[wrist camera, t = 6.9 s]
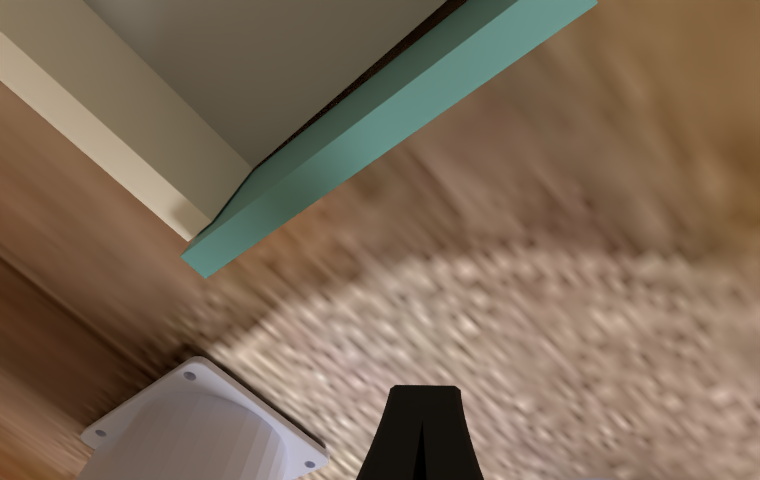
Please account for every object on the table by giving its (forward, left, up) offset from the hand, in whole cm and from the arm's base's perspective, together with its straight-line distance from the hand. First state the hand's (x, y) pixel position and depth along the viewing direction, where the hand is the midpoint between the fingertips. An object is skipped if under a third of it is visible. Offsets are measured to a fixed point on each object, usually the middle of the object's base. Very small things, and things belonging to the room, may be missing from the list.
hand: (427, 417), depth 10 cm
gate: (+2, +5, -6) cm, 8 cm away
